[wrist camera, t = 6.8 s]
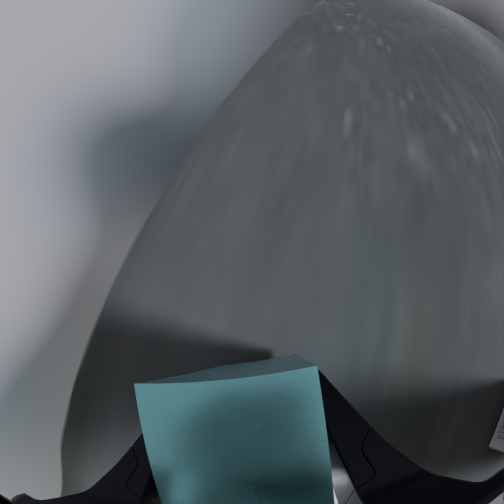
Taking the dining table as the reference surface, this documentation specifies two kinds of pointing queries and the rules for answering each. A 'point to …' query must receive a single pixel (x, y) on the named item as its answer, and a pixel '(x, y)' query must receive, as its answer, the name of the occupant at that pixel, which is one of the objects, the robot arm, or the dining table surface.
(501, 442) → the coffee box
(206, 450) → the teal and silver mallet
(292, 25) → the dining table surface
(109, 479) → the robot arm
